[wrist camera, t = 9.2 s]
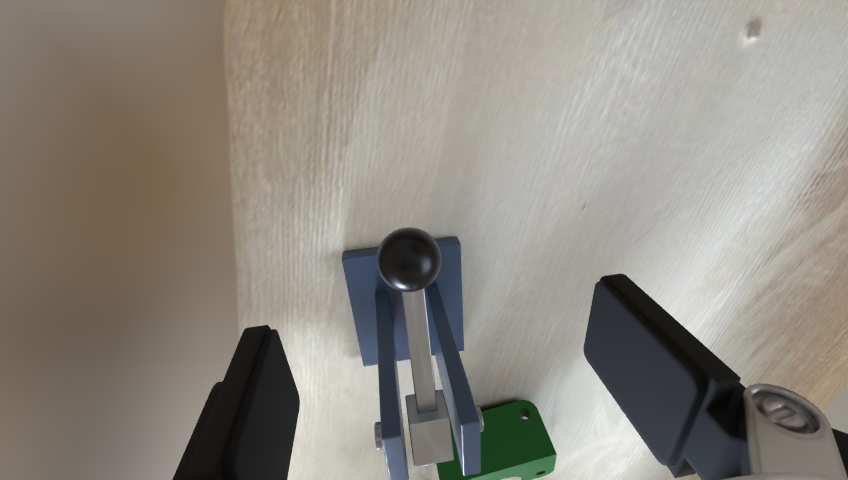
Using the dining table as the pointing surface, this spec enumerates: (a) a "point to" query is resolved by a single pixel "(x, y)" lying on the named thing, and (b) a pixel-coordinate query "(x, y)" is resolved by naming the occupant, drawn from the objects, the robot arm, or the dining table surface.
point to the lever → (418, 339)
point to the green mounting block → (508, 446)
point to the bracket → (388, 343)
